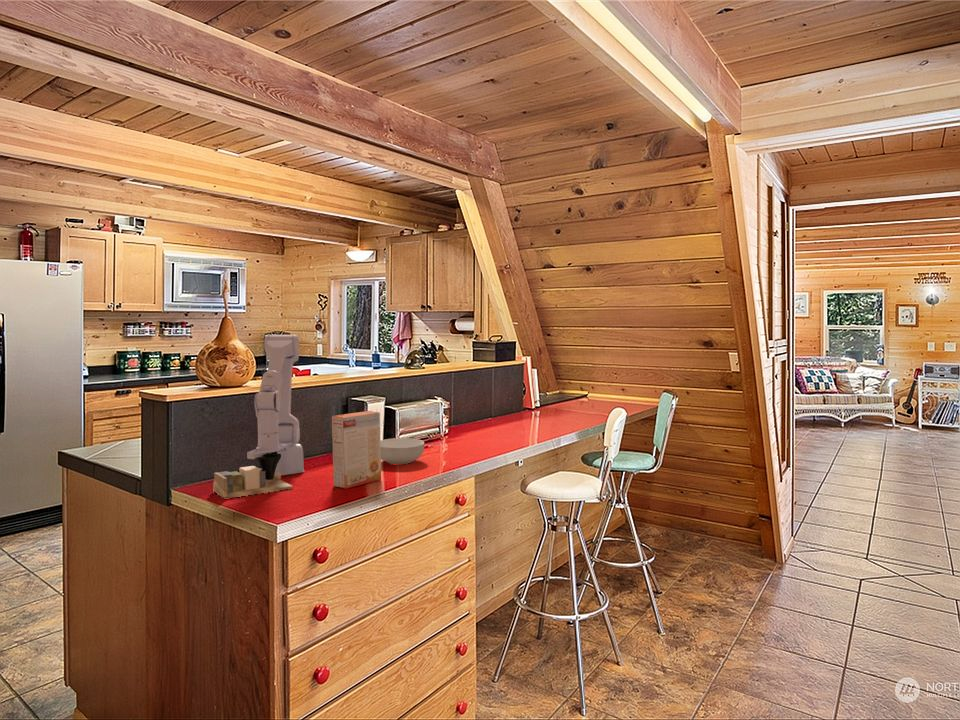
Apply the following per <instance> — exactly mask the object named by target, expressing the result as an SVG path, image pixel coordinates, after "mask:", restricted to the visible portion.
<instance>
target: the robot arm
mask: <svg viewBox="0 0 960 720" xmlns="http://www.w3.org/2000/svg"><path fill="white" fill-rule="evenodd" d="M299 338H300V337H299V336H298V335H297V334H266V336H265V337H264V341H263V342H264V344H263V345H264V351H265V353H266V356H267V357H268V366H267V371H266V372H264V373H263V374H262V378H261V383H260V388H259V391H258V392H257V393H255V395H254V399H253V400H254V402H253V403H254V410H255V417H256V418H257V446H256V448H255V449H252V450H250V451H247V452H246V457H247V460H255V459H256V461H257V462H258V464H259V465H260V467H261V469H262V470H264V471H265V478H266V480H272V479H273V478H274V474H275V473H277V472H280V473H281V477H282V476H287V475H288V476H289V475H295V474H301V473H305V472H306V471H305V469H304V465H305V464H304V449H303V446H302V444H300V443H299V441H300V438H301V431H300V430H301V428H300V421H299V419H298V418H297V417H296V416H295V415H293V414H291V408H292V383H293V382H292V379H293V378H292V377H293V366H294V364H295V363H296V362H299V358H300V339H299Z"/></svg>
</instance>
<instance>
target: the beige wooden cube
mask: <svg viewBox="0 0 960 720" xmlns="http://www.w3.org/2000/svg"><path fill="white" fill-rule="evenodd" d="M259 468H260V467H256V466H255V465H250V466H241V467H239V473H240V474H242V488H243V489H245V490H250V489H256V488H260V469H261V468H260V469H259Z"/></svg>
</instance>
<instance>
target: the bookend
mask: <svg viewBox="0 0 960 720" xmlns="http://www.w3.org/2000/svg"><path fill="white" fill-rule="evenodd" d="M258 468H259V469H260V487H264V486H266V478H265V471H264V470H262V468H260V467H258Z"/></svg>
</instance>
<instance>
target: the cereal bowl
mask: <svg viewBox="0 0 960 720" xmlns="http://www.w3.org/2000/svg"><path fill="white" fill-rule="evenodd" d="M380 447H381V461H383V462H387V463H388V464H389V463H390V464H389V465H392V464H406V465H408V464H407V463H410V464H411V463H412V462H415V461H417V460H418V459H420V458H421V456H422V455H423V454H424V451H425V441H424V440H421V439H418V438H411V437H409V438H408V437H397V438H395V437H393V438H386V439H380Z"/></svg>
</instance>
